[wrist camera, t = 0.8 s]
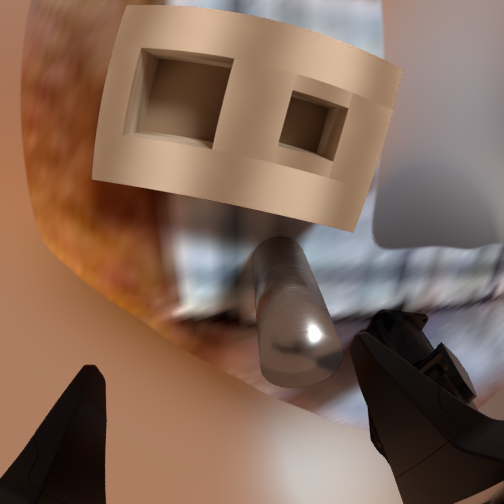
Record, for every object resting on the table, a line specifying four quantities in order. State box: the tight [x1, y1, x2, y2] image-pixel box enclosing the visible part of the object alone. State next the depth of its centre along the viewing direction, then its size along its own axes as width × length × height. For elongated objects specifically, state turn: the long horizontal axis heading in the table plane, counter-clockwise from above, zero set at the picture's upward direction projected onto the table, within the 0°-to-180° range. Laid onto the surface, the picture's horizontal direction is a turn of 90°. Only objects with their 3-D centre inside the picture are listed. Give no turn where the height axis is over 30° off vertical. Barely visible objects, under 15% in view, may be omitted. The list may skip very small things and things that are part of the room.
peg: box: [252, 237, 344, 388], centre depth 17 cm, size 4×4×10 cm
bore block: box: [92, 5, 403, 232], centre depth 15 cm, size 15×10×4 cm, turn 76°
